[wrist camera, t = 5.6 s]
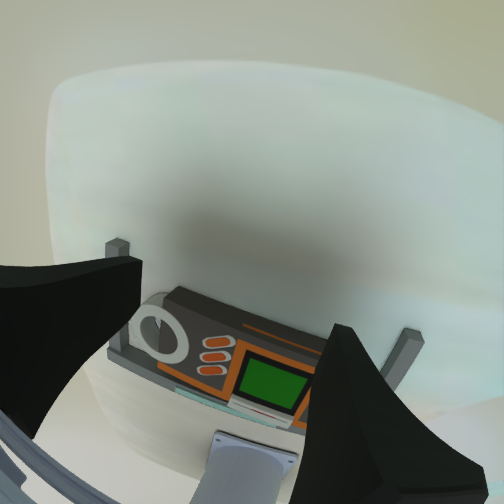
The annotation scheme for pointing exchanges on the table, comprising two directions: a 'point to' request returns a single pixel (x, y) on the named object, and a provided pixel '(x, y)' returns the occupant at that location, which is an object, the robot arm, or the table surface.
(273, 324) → the electronic device
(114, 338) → the dock
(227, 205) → the table surface
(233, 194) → the table surface
